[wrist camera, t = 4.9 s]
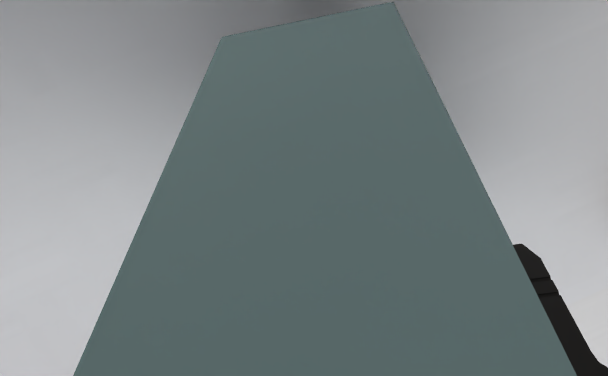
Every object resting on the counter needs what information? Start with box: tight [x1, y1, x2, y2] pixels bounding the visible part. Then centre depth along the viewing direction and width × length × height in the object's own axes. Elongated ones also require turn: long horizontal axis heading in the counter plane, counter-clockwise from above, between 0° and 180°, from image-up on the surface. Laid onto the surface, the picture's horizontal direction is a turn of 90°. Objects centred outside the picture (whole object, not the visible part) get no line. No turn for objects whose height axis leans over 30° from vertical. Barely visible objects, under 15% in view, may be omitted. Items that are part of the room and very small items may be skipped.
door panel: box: [73, 2, 577, 376], centre depth 10 cm, size 10×4×11 cm, turn 12°
